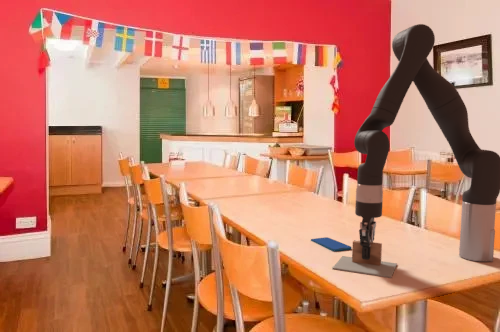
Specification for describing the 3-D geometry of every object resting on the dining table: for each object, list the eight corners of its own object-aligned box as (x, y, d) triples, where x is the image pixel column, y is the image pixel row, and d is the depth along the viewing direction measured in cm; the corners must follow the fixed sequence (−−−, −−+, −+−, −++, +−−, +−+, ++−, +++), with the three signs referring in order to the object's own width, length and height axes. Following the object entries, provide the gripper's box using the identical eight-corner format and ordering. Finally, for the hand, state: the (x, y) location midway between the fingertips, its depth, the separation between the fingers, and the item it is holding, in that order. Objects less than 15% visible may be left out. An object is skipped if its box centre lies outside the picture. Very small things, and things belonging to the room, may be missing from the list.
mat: (396, 264, 131) (397, 263, 131) (391, 277, 120) (391, 276, 120) (342, 257, 138) (342, 255, 138) (332, 269, 127) (332, 267, 127)
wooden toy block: (381, 263, 131) (381, 243, 130) (379, 265, 129) (380, 245, 128) (353, 259, 134) (354, 240, 133) (352, 261, 132) (352, 241, 132)
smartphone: (327, 237, 160) (352, 247, 146) (327, 239, 160) (352, 250, 146) (309, 239, 157) (333, 249, 143) (309, 241, 157) (333, 252, 143)
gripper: (378, 204, 122) (375, 266, 124) (386, 196, 134) (383, 253, 136) (350, 202, 125) (348, 262, 127) (360, 194, 137) (358, 250, 139)
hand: (366, 257), depth 131 cm, fingers closed on wooden toy block, 2 cm apart
